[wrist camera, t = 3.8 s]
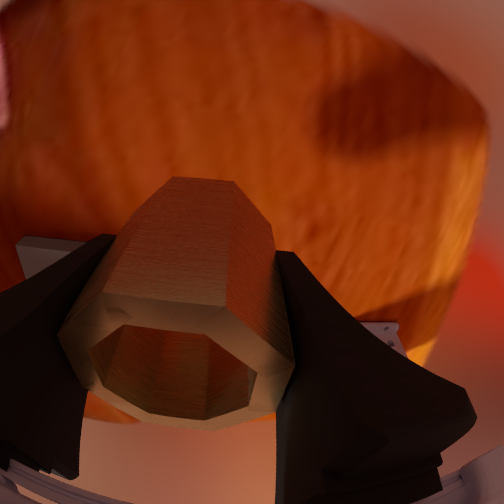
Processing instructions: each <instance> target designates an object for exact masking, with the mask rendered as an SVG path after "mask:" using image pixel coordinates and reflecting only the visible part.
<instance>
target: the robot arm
mask: <svg viewBox="0 0 504 504" xmlns="http://www.w3.org/2000/svg"><path fill="white" fill-rule="evenodd" d="M116 237H117V235H108V234H102V235H100V236H97V237H95V238H94V239H92V240H90V241H88V242H87V243H85V244H83V245H82V246H80V247H79V248H77V249H75V250H74V251H72V252H71V253H69V254H67V255H66V256H64V257H63V258H61V259H60V260H58V261H56V262H55V263H53V264H51V265H50V266H48V267H47V268H45V269H43V270H42V271H40V272H38V273H37V274H35V275H34V276H32V277H30V278H28V279H26V280H25V281H23V282H21V283H19V284H17V285H15V286H13V287H11V288H10V289H8V290H6V291H4V292H1V293H0V504H41V503H39V502H36V501H34V500H32V499H30V498H28V497H26V496H24V495H22V494H20V493H19V491H18V489H17V486H16V485H15V483H16V484H18V485H20V486H22V487H24V488H26V489H28V490H30V491H32V492H34V493H36V494H38V495H40V496H42V497H45V498H47V499H49V500H51V501H54V502H56V503H58V504H132V503H128V502H124V501H120V500H116V499H112V498H109V497H105V496H102V495H98V494H95V493H92V492H89V491H86V490H83V489H80V488H77V487H74V486H71V485H69V484H66V483H64V482H61V481H58V480H56V479H54V478H51V477H49V476H46V475H44V474H42V473H40V472H39V470H41V471H43V472H46V473H48V474H50V473H53V474H55V475H57V476H60V477H63V478H65V479H68V480H73V479H75V478H77V477H78V476H79V451H80V437H81V428H82V420H83V414H84V408H85V403H86V397H87V393H88V390H87V389H85V388H83V387H82V385H81V383H80V381H79V379H78V377H77V376H76V374H75V372H74V370H73V368H72V366H71V364H70V362H69V360H68V358H67V356H66V354H65V352H64V350H63V348H62V346H61V343H60V341H59V339H58V337H57V334H58V332H59V330H60V328H61V326H62V324H63V322H64V321H65V319H66V317H67V315H68V313H69V312H70V310H71V308H72V306H73V305H74V303H75V301H76V299H77V298H78V296H79V294H80V293H81V291H82V289H83V288H84V286H85V284H86V283H87V281H88V279H89V278H90V276H91V275H92V273H93V271H94V270H95V268H96V267H97V265H98V264H99V262H100V260H101V259H102V257H103V256H104V254H105V253H106V252H107V250H108V249H109V247H110V246H111V244H112V243H113V241H114V240H115V238H116ZM276 256H277V262H278V267H279V271H280V277H281V283H282V289H283V294H284V300H285V306H286V312H287V318H288V324H289V330H290V336H291V342H292V349H293V355H294V361H295V367H294V369H293V372H292V374H291V376H290V379H289V381H288V384H287V386H286V388H285V391H284V393H283V395H282V398H281V400H280V402H279V405H278V407H277V409H276V440H277V441H276V443H277V446H276V448H277V449H276V450H277V451H276V457H277V458H276V494H275V504H504V447H503V445H501V444H500V445H498V446H497V447H495V448H493V449H491V450H489V451H488V452H486V453H484V454H482V455H480V456H479V457H477V458H475V459H474V460H472V461H470V462H469V463H467V464H466V465H464V466H462V467H461V469H459V470H457V471H454V472H452V473H450V474H448V475H445V476H443V477H441V478H440V476H439V473H438V469H437V467H439V466H440V465H442V463H443V461H442V458H441V454H440V453H441V452H442V451H443V450H445V449H446V448H448V447H449V446H451V445H452V444H453V443H455V442H456V441H457V440H458V439H460V438H461V437H462V436H463V435H465V434H466V433H467V432H468V431H469V430H470V429H471V428H472V427H473V426H474V424H475V422H476V420H477V415H476V413H475V411H474V408H473V406H472V404H471V401H470V399H469V397H468V395H467V393H466V390H465V389H464V388H463V387H460V386H458V385H456V384H454V383H452V382H450V381H448V380H446V379H444V378H442V377H440V376H437V375H435V374H433V373H432V372H430V371H428V370H426V369H424V368H423V367H421V366H419V365H418V364H416V363H414V362H413V361H411V360H409V359H408V357H407V355H406V352H405V350H404V348H403V346H402V344H401V342H400V340H399V337H398V335H397V333H396V332H397V331H398V329H399V324H398V323H397V322H358V321H357V320H356V319H355V318H354V317H353V316H352V315H350V314H349V313H348V312H347V311H346V310H345V309H344V308H343V307H342V306H341V305H340V304H339V303H338V302H337V301H336V300H335V299H334V298H333V297H332V296H331V295H330V293H329V292H328V291H327V290H326V289H325V288H324V287H323V286H322V285H321V284H320V282H319V281H318V280H317V279H316V278H315V277H314V276H313V274H312V273H311V272H310V271H309V270H308V268H307V267H306V266H305V265H304V264H303V262H302V261H301V260H300V259H299V258H298V257H297V255H296V254H295V253H294V252H289V251H278V250H276ZM14 482H15V483H14Z"/></svg>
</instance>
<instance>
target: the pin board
mask: <svg viewBox="0 0 504 504" xmlns="http://www.w3.org/2000/svg"><path fill="white" fill-rule="evenodd" d="M85 243H87V242H81V241H71V240H62V239H52V238H42V237H33V236H24V237H23V238H22V239H21V240H20V241H19V242H18V243H17V244H16V245H15V246H16V250H17V253H18V256H19V260H20V263H21V266H22V269H23V272H24V275H25V278H26V279H28V278H30V277H32V276H34V275H35V274H37V273H38V272H40V271H42V270H43V269H45V268H47V267H48V266H50V265H51V264H53V263H55V262H56V261H58V260H60V259H61V258H63V257H64V256H66V255H67V254H69V253H71V252H72V251H74V250H75V249H77V248H79V247H80V246H82V245H83V244H85Z"/></svg>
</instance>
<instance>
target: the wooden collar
mask: <svg viewBox="0 0 504 504" xmlns="http://www.w3.org/2000/svg"><path fill="white" fill-rule="evenodd" d="M57 337H58V339H59V341H60V343H61V346H62V348H63V350H64V352H65V354H66V356H67V358H68V360H69V362H70V364H71V366H72V368H73V370H74V372H75V374H76V376H77V377H78V379H79V381H80V383H81V385H82V387H83V388H85V389H87V390H88V391H90V392H91V393H93V394H94V395H96V396H98V397H99V398H101V399H103V400H104V401H106V402H108V403H109V404H111V405H113V406H115V407H116V408H118V409H120V410H122V411H124V412H125V413H127V414H129V415H131V416H133V417H135V418H137V419H139V420H140V421H142V422H146V423H152V424H159V425H165V426H172V427H179V428H188V429H198V430H209V431H216V430H220V429H224V428H227V427H230V426H234V425H237V424H240V423H244V422H247V421H250V420H253V419H256V418H259V417H262V416H265V415H268V414H271V413H273V412H275V411H276V409H277V407H278V405H279V402H280V400H281V398H282V395H283V393H284V391H285V388H286V386H287V384H288V381H289V379H290V376H291V374H292V372H293V369H294V367H295V361H294V355H293V349H292V342H291V336H290V330H289V324H288V318H287V312H286V306H285V300H284V294H283V289H282V283H281V277H280V271H279V267H278V262H277V256H276V249H275V243H274V238H273V233H272V227H271V224H270V223H269V222H268V221H267V219H266V218H265V217H264V216H263V215H262V213H261V212H260V211H259V210H258V209H257V208H256V206H255V205H254V204H253V203H252V202H251V200H250V199H249V198H248V197H247V196H246V195H245V193H244V192H243V191H242V190H241V189H240V188H239V186H238V185H237V184H236V183H235V182H234V181H225V180H214V179H203V178H190V177H176V176H173V177H172V178H171V179H169V180H168V181H167V182H166V183H165V184H164V185H163V186H162V187H160V188H159V189H158V190H157V191H156V192H155V193H154V194H153V195H152V196H151V197H150V198H149V199H147V200H146V201H145V202H144V203H143V204H142V205H141V206H140V207H139V208H138V209H137V210H136V211H135V212H134V213H133V214H132V216H131V217H130V218H129V220H128V221H127V222H126V224H125V225H124V227H123V228H122V229H121V231H120V232H119V234H118V235H117V237H116V238H115V240H114V241H113V243H112V244H111V246H110V247H109V249H108V250H107V252H106V253H105V254H104V256H103V257H102V259H101V260H100V262H99V264H98V265H97V267H96V268H95V270H94V271H93V273H92V275H91V276H90V278H89V279H88V281H87V283H86V284H85V286H84V288H83V289H82V291H81V293H80V294H79V296H78V298H77V299H76V301H75V303H74V305H73V306H72V308H71V310H70V312H69V313H68V315H67V317H66V319H65V321H64V322H63V324H62V326H61V328H60V330H59V332H58V334H57Z"/></svg>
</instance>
